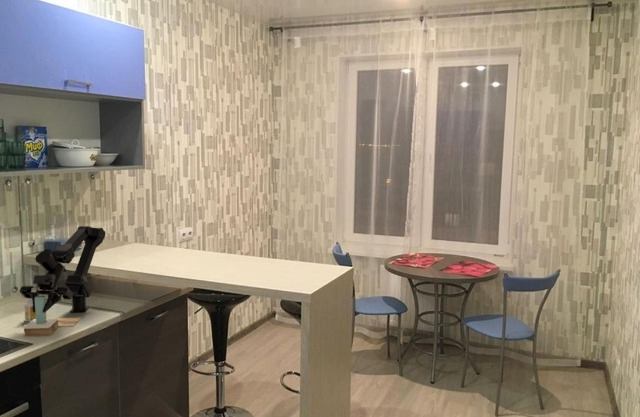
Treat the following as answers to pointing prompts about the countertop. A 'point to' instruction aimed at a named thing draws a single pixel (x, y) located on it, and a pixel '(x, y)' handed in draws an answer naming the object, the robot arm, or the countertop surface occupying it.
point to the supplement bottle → (29, 310)
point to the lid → (40, 315)
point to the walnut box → (41, 330)
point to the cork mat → (67, 322)
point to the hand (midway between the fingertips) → (38, 312)
